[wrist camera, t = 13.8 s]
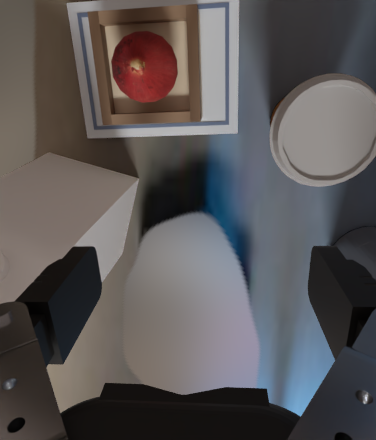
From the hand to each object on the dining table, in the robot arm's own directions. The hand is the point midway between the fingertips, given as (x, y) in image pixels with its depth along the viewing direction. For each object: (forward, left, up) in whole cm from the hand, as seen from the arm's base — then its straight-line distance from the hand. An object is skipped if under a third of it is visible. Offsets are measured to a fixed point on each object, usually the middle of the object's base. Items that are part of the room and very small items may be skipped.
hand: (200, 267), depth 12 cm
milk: (+17, +8, -30) cm, 36 cm away
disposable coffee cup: (-10, -2, -30) cm, 32 cm away
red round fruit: (+6, -8, -25) cm, 27 cm away
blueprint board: (+6, -8, -30) cm, 32 cm away
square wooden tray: (+6, -8, -29) cm, 31 cm away
